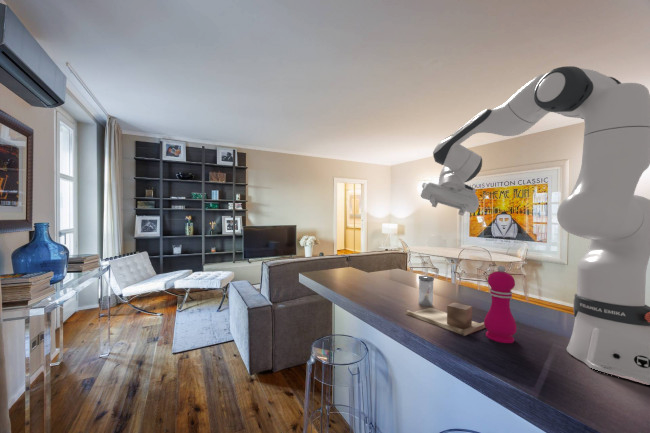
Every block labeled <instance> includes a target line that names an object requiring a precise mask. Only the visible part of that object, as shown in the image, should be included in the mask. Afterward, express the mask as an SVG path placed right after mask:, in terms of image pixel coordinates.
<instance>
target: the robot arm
mask: <svg viewBox="0 0 650 433" xmlns="http://www.w3.org/2000/svg"><path fill="white" fill-rule="evenodd" d="M549 113H555V114H558V115H561V116H563V117H567V118H573V119H581V120H584V131H583V144H582V158H581V167H580V171H579V173H578V176H577V179H576V182H575V184H574V187H573V189H572V191H571V192H570V194H569V196H568V197H567V198H565V199H564V200H563V201H561V203H560V204H559V206H558V208H557V212H556V218H557V222H558V224H559V226H560V227H561V229H562V230H564V231H565V232H567V233H569V234H571V235H574V236H577V237H580V238H583V239H587V240H590V241H589V245H588V248H587V250H586V251H585V254H584V255H583V256H582V257H581V258H580V259H579V261H578V264H577V270H576V271H577V274H576V276H577V277H576V279H577V280H576V282H577V283H576V293H575V294H574V298H573V306H572V307H573V308H572V309H573V316H574V318H575V319H574V322H573V323H574V324H573V329H572V332H571V337H570V339H569V341H568V345H567V347H566V351H567V353H569V354H570V355H571V356H573V357H574V358H575V359H577V360H579V361H581V362H582V363H584V364H586V366H588V368H590V369H591V368H592V370H593V369H595V370H598V371H602V372H607V373H613V374H617V375H620V376H628V377H633V378H635V379H638V380H640V381H643V382H647V383H649V384H650V306H649V305H647V304H646V282H647V269H648V264H649V261H650V199H649V198H647V197H644V196H641V195H638V194H637V195H636V194H635V191H636V189H637V186H638V184H639V181H640V179H641V177H642V175H643V174H644V172H645V171H647V169H648V168H649V167H650V90H649V89H648V88H647V86H645V85H643V84H641V83H638V82H637V83H636V82H623V83H622V82H621V81H620V80H619V79H617V78H615V77H613V76H609V75H606V74H604V73H601V72H599V71H596V70H593V69H588V68H580V67H577V66H575V65H573V66H571V65H569V66H561V67H557V68H553V69H551V70H550V71H548V72H547V73H543V74H539V75H537V76H536V77H534V78H533V79H531V80H529V81H528V82H527V83H526V84H524V86H522V87H521V88H520V89H518V90H517V91H516V92H515V93H514V94H513V95H512V96H511V97H510V98H509V99H508V100H507V101H505V102H504V103H503V104H501V105H499V106H497V107H494V108H491V109H490V108H489V109H488V108H486V109H484V110H482V111H481V112H479V113H478V114H476V115H475V116H473V117H472V118H471V119H470V120H469V121H468V120H467V122H466V123H465V124H463V125H461V127H459V128H458V129H457V130H455V131H454V132H453V133H452V134H450V135H449V136H448V137H445V138H444V139H442V140H441V141H439V143H437V145H436V146H435V148H434V149H433V151H432V156H433V159H434V162H435V163H437V164H439V165H441V166H443V167H442V169H441V171H440V174H439V177H438V178H439V179H438V184H436V183H433V182H428V181H427V182H423V183H422V186H421V187H422V191H421V193H420V198H422V199H424V200H427V201H429V202H430V204H431V207H433V208H437V207H438V204H441V205H444V206H447V207H450V208H454V209H457V210H459V211H458V215H459V216H462V217H463V216H464V215H465V213H466V212H467V213H471V214H474V213H476V211H477V210H478V208H479V206H480V202H479V198H478V196H477V194H476V192H477V190H476V189H475V188H474V187H472V186H470V185H468V184H466V183H468V182H470V181H472V180H473V179H475V177H476V176H478V175H479V173H480V171H481V169H482V167H483V158H482V156H481V155H479V154H478V153H476V152H475V151H472V150H471V149H469V148H467V147H466V146H464V145H462V144H463V143H464V142H465V141H466V140H467V139H469V138H471V137H472V136H473V135H475V134H480V133H487V134H493V135H498V136H502V137H514V136H519V135H521V134H524V133H525V132H527V131H528V130H530V129H532V128H533V126H535V125H536V124H537V123H538V122H539V121H540V120H542V119H543V118H544V117H545V116H546V115H548V114H549ZM595 370H594V371H595ZM598 371H597V372H598Z"/></svg>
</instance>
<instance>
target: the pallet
mask: <svg viewBox="0 0 650 433" xmlns="http://www.w3.org/2000/svg"><path fill="white" fill-rule="evenodd" d="M405 313H406V315H408V316H410V317H413V318H416V319H419V320H421V321H424V322H426V323H429V324H432V325H433V326H437V327H440V328H443V329H446V330H448V331H451V332H453V333H456V334H460V335H461V336H467V335H470V334H473V333H476V332H479V331H480V330H483V329H486V327H485V326H484V321H483V322H480V323H479V322H477V321H473V320H472V327H469V328H466V329H464V330H463V329H460V328H457V327H454V326H451V325H448V324H447V311H446V312H445V311H442V310H439V309H436V308H433V307H428V308H424V309H420V310H417V311H412V310H409V309H408V310H406V312H405Z"/></svg>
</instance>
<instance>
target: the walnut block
mask: <svg viewBox="0 0 650 433" xmlns="http://www.w3.org/2000/svg"><path fill="white" fill-rule="evenodd" d="M446 313H447V324H448V325H451V326H454V327H457V328H460V329H463V330H464V329H466V328H469V327H472V321H473V306H472V305H467V304H462V303H458V302H455V301H454V302H452V303H450V304H447V310H446Z"/></svg>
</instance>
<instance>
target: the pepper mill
mask: <svg viewBox="0 0 650 433" xmlns="http://www.w3.org/2000/svg"><path fill="white" fill-rule="evenodd" d="M487 284H488V285H489V287H490V289H489V294H490V297H491V305H490V308H489V310H488V311H487V312H486V314H485V317H484V319H483V320H484V321H483V322H484V326H485V327H486V328H485V329H486V330H487V331H486V332H485V337H486V338H488V339H489V340H492V341H495V342H497V343H502V344H503V343H504V344H513V343H514V342H515V338H514V337H513V335H515V334H516V333H517V329H518V328H517V324H516V319H515V317H514V316H513V313H512V311H511V308H510V306H511V305H510V303H511V302H510V300H511V299H512V298H513V292H512V290H513V289H514V288H515V286H516V282H515V278H514V277H513V276H512V274H510V273H508V272H506V267H505V266H503V265H499V266H498V267H497V271H493V272H492V273H490V274H489V275H488V278H487Z"/></svg>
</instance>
